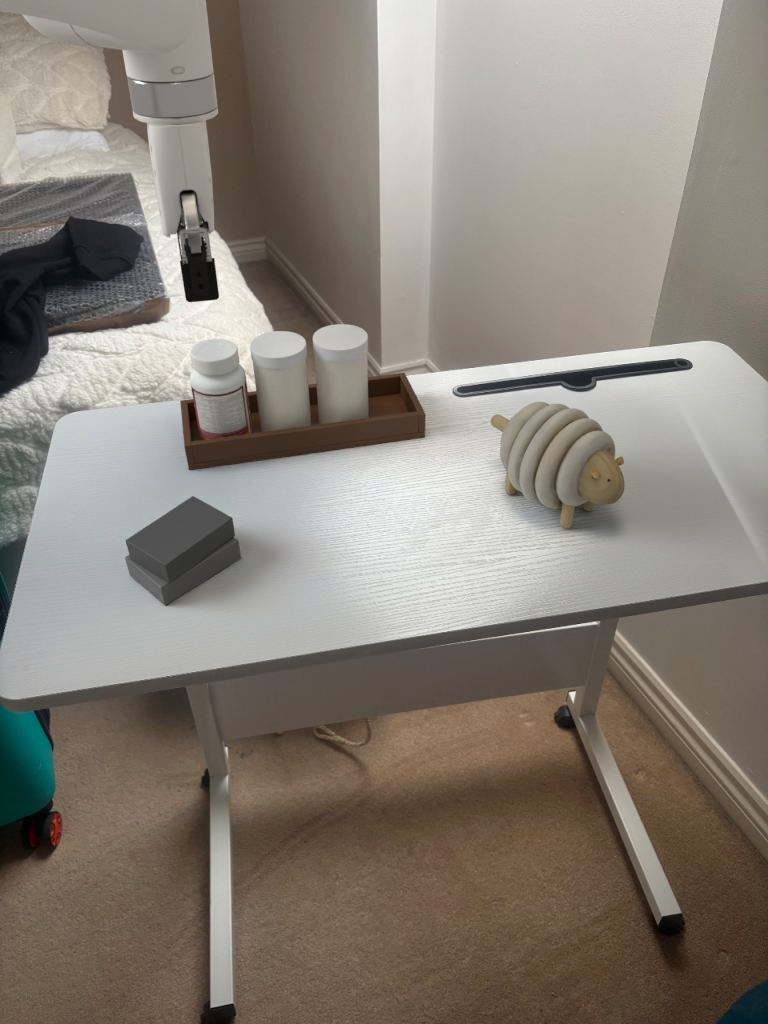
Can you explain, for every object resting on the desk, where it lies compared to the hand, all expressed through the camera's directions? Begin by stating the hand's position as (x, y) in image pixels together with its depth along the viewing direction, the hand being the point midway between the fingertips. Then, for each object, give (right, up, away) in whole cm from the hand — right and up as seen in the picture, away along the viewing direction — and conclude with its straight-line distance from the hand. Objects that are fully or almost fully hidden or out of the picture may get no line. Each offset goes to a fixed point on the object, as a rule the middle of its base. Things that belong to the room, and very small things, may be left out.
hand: (199, 280), depth 85 cm
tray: (+9, -14, +15) cm, 22 cm away
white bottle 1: (+7, -14, +14) cm, 21 cm away
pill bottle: (0, -15, +13) cm, 20 cm away
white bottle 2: (+14, -12, +15) cm, 24 cm away
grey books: (-1, -29, -3) cm, 29 cm away
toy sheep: (+37, -22, +5) cm, 43 cm away
